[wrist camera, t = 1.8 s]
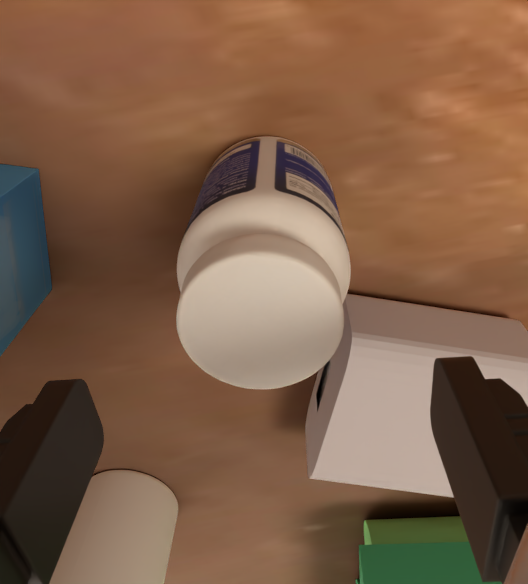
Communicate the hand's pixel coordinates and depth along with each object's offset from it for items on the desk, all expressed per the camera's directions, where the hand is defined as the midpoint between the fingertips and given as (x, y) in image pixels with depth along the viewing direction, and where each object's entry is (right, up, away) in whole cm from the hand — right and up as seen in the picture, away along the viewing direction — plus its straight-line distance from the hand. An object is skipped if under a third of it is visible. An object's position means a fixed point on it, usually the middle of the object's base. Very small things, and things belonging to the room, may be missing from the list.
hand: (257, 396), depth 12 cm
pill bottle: (0, +7, +11) cm, 13 cm away
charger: (+11, -2, +16) cm, 19 cm away
